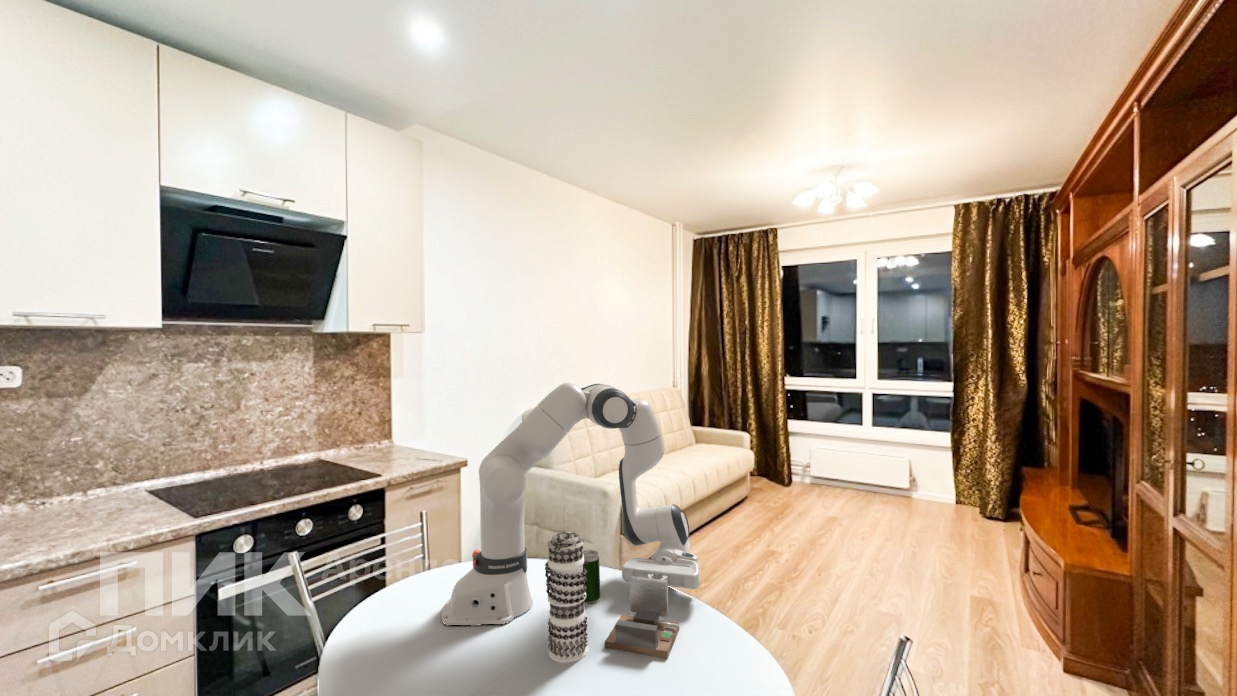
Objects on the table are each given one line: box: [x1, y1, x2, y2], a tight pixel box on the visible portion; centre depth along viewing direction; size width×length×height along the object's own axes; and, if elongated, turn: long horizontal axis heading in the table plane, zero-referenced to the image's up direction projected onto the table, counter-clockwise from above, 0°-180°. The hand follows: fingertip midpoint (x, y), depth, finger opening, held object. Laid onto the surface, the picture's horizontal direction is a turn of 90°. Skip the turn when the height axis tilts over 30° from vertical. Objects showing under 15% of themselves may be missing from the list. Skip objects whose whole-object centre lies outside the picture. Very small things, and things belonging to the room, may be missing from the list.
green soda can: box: [583, 549, 601, 605], centre depth 135 cm, size 5×5×12 cm
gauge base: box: [604, 614, 680, 660], centre depth 116 cm, size 12×14×6 cm
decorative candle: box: [544, 531, 589, 664], centre depth 112 cm, size 9×9×25 cm
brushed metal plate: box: [628, 576, 680, 628], centre depth 119 cm, size 5×12×9 cm, turn 71°
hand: (654, 586), depth 126 cm, fingers closed
